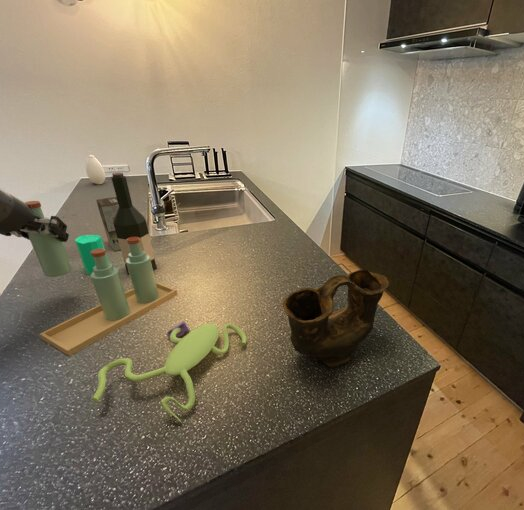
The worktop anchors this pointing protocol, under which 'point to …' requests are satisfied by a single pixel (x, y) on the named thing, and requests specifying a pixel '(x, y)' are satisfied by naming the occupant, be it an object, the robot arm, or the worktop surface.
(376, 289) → the pottery vessel
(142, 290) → the tray bottles
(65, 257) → the loose bottle
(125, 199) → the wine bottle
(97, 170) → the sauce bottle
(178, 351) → the figurine
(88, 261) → the green polygonal prism
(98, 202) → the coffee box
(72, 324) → the tray
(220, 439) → the worktop surface
